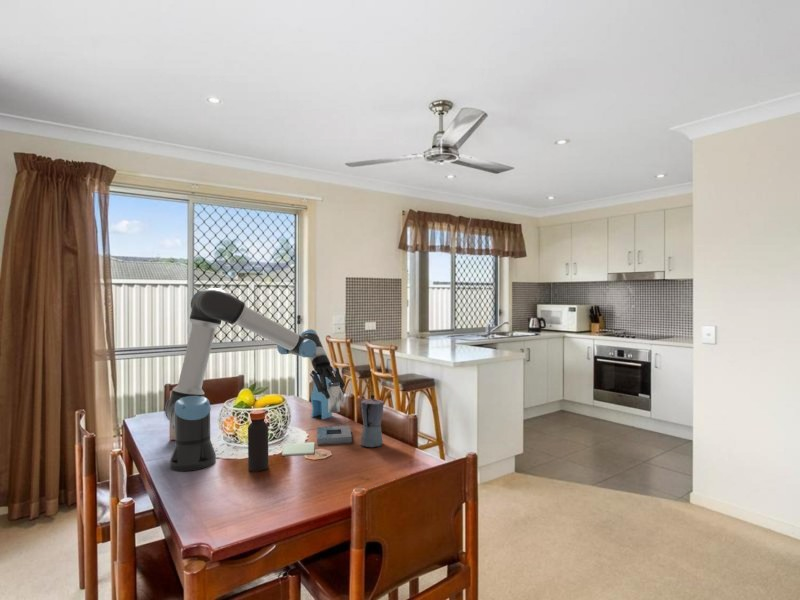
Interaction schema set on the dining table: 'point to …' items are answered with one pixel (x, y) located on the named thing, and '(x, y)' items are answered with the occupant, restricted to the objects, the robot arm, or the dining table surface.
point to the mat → (298, 448)
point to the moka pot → (372, 422)
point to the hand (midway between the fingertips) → (338, 403)
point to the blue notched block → (320, 402)
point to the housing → (333, 435)
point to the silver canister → (334, 396)
